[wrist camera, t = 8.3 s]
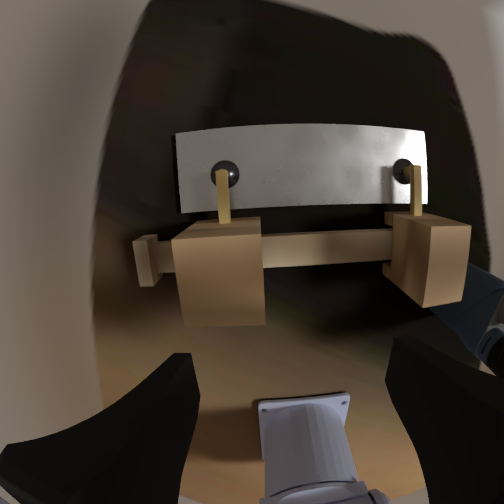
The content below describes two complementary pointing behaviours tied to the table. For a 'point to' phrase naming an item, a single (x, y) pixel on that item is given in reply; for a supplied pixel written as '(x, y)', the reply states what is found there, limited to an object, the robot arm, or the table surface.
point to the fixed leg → (427, 251)
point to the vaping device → (479, 317)
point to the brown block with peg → (220, 268)
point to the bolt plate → (298, 165)
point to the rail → (278, 250)
